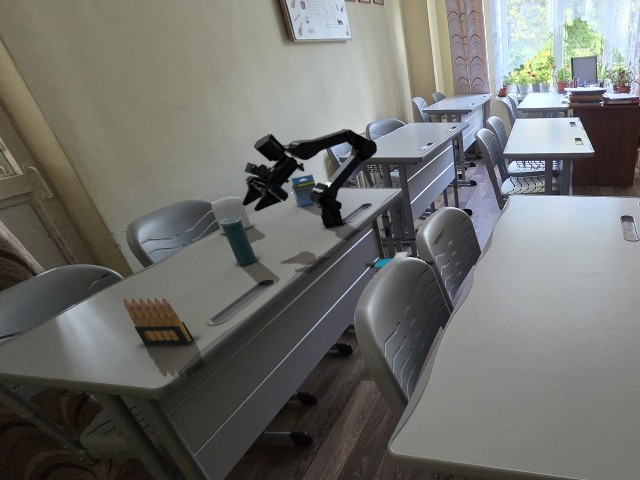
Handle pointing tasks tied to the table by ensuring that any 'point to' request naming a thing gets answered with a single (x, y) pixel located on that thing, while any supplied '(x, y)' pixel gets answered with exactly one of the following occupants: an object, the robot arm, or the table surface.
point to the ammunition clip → (157, 323)
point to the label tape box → (303, 189)
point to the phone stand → (386, 261)
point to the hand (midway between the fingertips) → (249, 207)
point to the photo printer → (230, 211)
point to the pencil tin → (238, 240)
